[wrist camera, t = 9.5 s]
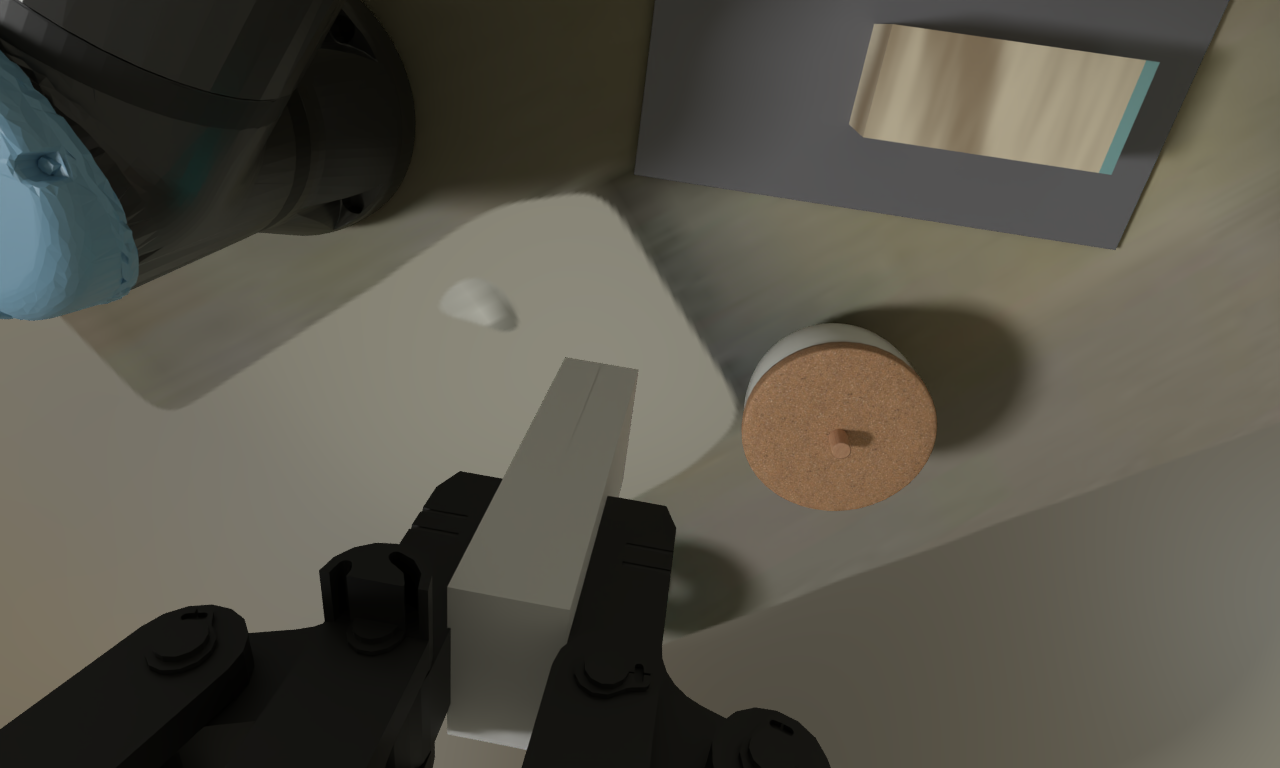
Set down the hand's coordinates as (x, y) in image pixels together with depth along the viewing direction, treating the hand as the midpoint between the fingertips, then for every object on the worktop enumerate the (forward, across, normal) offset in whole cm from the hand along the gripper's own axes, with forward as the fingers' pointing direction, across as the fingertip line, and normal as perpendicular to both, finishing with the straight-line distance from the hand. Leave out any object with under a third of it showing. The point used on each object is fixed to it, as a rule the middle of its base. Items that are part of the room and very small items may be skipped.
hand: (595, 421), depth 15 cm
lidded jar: (+31, +11, -12) cm, 35 cm away
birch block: (+28, +8, +6) cm, 29 cm away
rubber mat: (+30, +11, +6) cm, 33 cm away
